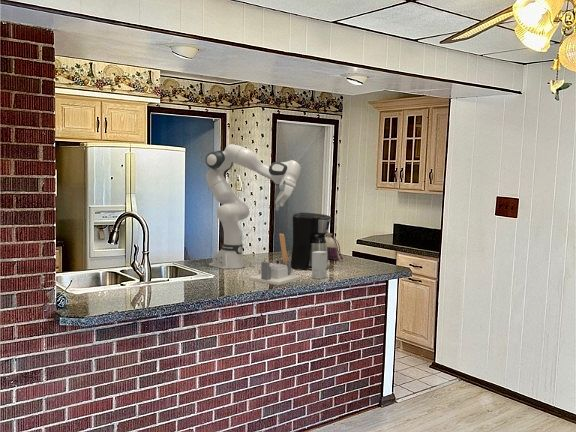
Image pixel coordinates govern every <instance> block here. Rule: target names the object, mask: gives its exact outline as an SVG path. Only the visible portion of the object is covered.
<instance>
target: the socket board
mask: <svg viewBox="0 0 576 432" xmlns="http://www.w3.org/2000/svg"><path fill="white" fill-rule="evenodd" d="M279 263H280V264H277V263H276V262H275V263H270V261H265V260H264V261H261V274H257V275H252V276H249V277H248V281H254V282H258V283H259V282H260V283H264V284H270V285H274V286H281V285H284V284H288V283H293V282H296V281H298V280H299V281H300V280H302V279H303V276H302V275H297V274H291V273H292V272H291V271H292V268H291V259H288V261H287V265H284V263H283V258H280V260H279Z"/></svg>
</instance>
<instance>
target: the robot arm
mask: <svg viewBox="0 0 576 432" xmlns="http://www.w3.org/2000/svg"><path fill="white" fill-rule="evenodd" d="M234 164H236V165H238V166H241V167H243V168H246V169H248V170H251V171H252V172H255V173H257V174H259V175H261V176H262V177H265V178H266V179H268V180H271V182H273V184H274V185H276V186H277V187H278V188H279V193H278V194H277V196H276V199H275V202H274V204H275V211H279V210H280V207H284V205H285V203H286V201H288V200H289V198H291V196H292V193H293V192H294V190H295V189H296V186H297V180H298V179H299V177H300V174H301V170H302V167H301V164H300V163H299V162H298V161H296V160H294V159H291V160H287V161H281V162H280V161H275V162H272V163H271V164H270V165H269V166H268V165H266V164H264V163H263V162H261V160H260V159H259V158H258V156H257V155H256V153H255V152H253V151H252V150H251V149H249V148H248V147H244V146H242V145H238V144H233V143H230V144H228V145H226V146H225V148H224V150H223V151H222V150H216V151H210V152H209V153H208V154H206V157H205V165H206V167H208V168H209V170H208V171H207V172H206V174H205V179H206V181H207V185H208V187H209V189H210V190H211V193H212V195H213V196H214V198H215V200H216V201H217V202H218V203H220V204H221V205H220V206H219V207H217V210H216V217H217V219H218V220H219V221H220V223H221V225H222V228H223V243H222V244H221V245H220V248H221V249H220V250H219V251H218V252H216V253H214V255H213V258H212V261H211V262H210V263H208V266H210V267H214V268H218V269H223V270H225V269H228V270H229V269H231V270H232V269H243V268H245V264H244V260H243V245H244V244H243V231H242V229H241V228H240V226H239V221H242V220H245V219H247V218H248V217H249V216H250V208H249V207H248V205H247V204H246V203H244V202H243V201H241V200H240V198H239V197H238V196H237V195H236V194H235V193H234V192H233V190H232V188H231V187H230V185H229V182H228V181H227V179H226V178H225V174H227V173H228V172H229V171H230V170H231V169H232V168H233V166H234Z"/></svg>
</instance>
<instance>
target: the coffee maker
mask: <svg viewBox="0 0 576 432" xmlns="http://www.w3.org/2000/svg"><path fill="white" fill-rule="evenodd" d="M331 220H332V217H331V216H330V215H329V214H328V215H327V214H321V213H315V212H298V213H295V214H293V215H292V249H291V257H290V260H291V269H292V270H293V269H295V270H302V271H312V252H315V251H326V252H327V243H326V240H325V237H324V236H325V234H326V233H327V232H328V233H329V227H330V223H331ZM328 261H329V259H328V252H327V263H328ZM275 263H277V264H280V260H276V262H275ZM284 265H287V264H285V263H284ZM328 268H329V265H328V264H327V269H328Z"/></svg>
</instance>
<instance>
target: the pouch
mask: <svg viewBox="0 0 576 432" xmlns="http://www.w3.org/2000/svg"><path fill="white" fill-rule="evenodd" d="M324 237H325V240H326V243H327V252H328V260H332V261H340V260H344V257H343V256H342V254H341V247H340V244H339V241H338V240H337V239H336V237H335V236H333V233H331V232H329V231H328V232H327V233H326V234H325V236H324Z"/></svg>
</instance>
